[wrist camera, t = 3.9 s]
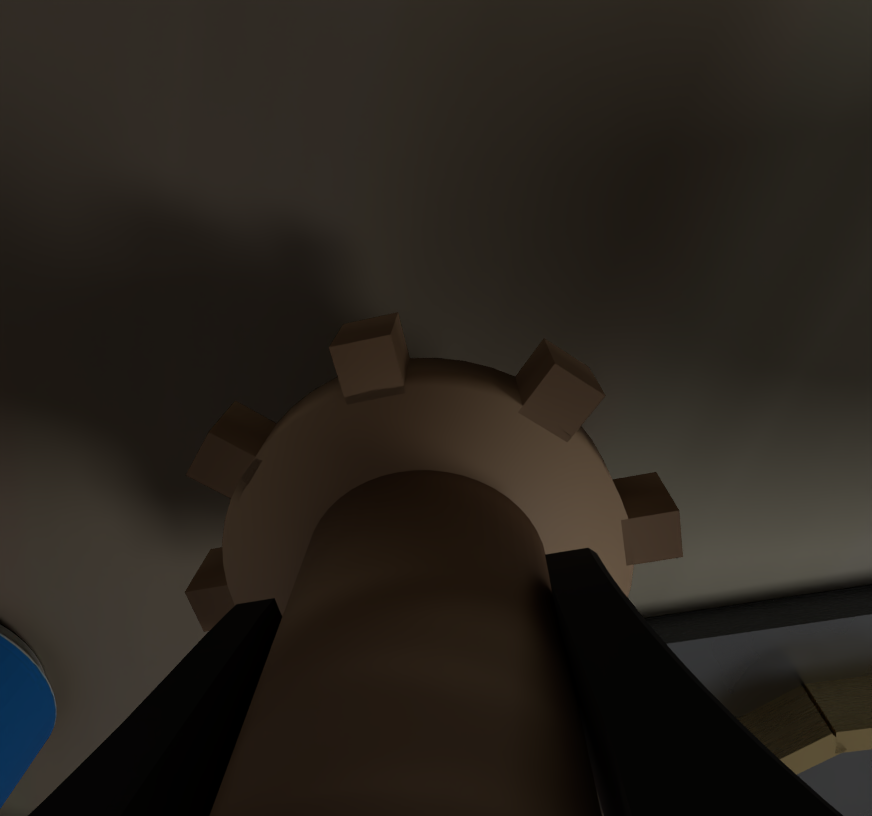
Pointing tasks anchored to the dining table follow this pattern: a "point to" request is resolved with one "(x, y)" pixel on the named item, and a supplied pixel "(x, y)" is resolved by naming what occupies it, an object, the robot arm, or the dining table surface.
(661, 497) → the gear
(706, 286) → the dining table surface
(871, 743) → the carrier plate
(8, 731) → the beverage can
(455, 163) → the dining table surface
